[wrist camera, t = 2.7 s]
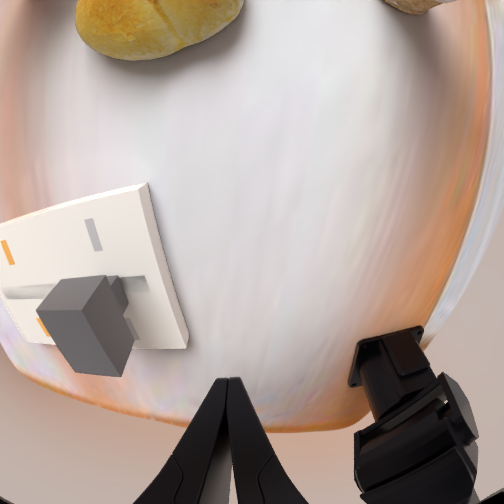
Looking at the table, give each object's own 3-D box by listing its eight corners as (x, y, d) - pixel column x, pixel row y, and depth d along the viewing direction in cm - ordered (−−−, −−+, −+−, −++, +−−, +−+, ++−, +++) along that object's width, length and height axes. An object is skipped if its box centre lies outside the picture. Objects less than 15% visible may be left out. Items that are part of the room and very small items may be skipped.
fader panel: (189, 333, 19) (186, 348, 18) (33, 331, 19) (26, 341, 18) (147, 182, 14) (137, 189, 13) (-15, 229, 14) (-26, 237, 13)
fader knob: (143, 317, 16) (121, 377, 11) (102, 318, 16) (75, 372, 12) (120, 255, 14) (81, 309, 9) (77, 261, 14) (35, 310, 10)
